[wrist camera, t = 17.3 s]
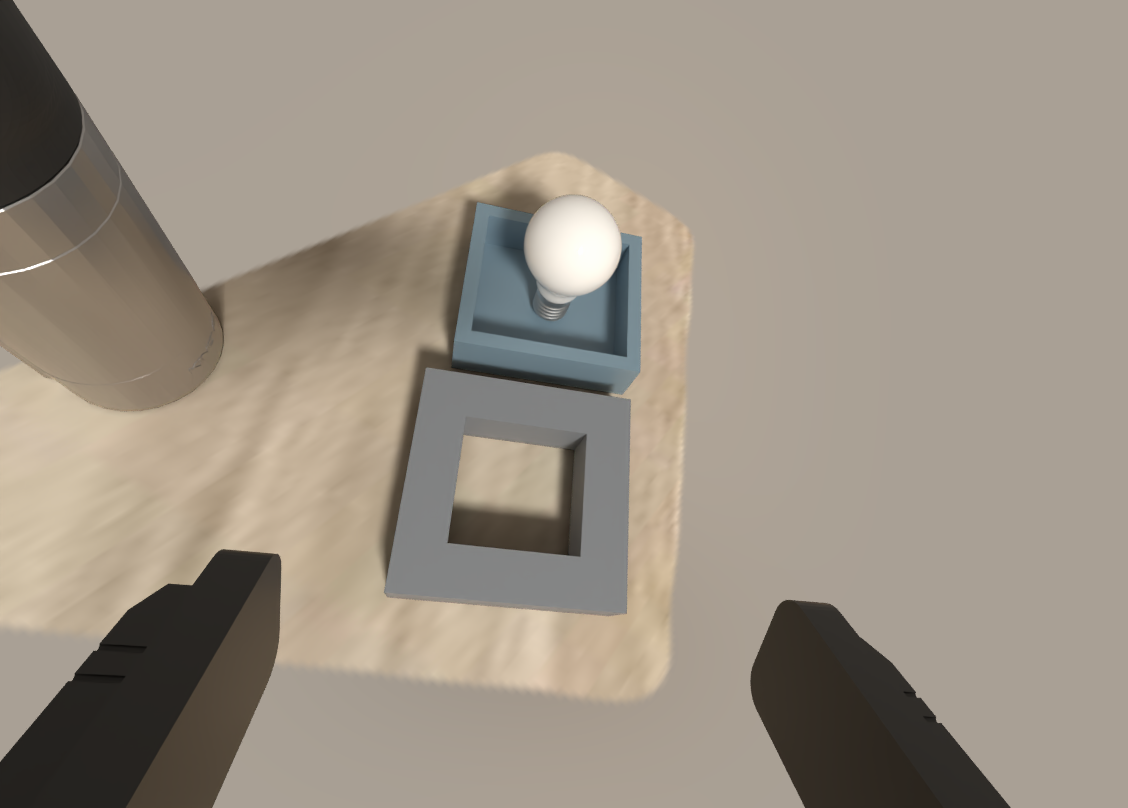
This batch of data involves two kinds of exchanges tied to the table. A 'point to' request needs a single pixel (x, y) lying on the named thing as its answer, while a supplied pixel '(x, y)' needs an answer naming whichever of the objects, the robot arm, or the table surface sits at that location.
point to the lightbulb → (570, 251)
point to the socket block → (506, 575)
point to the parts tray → (531, 344)
